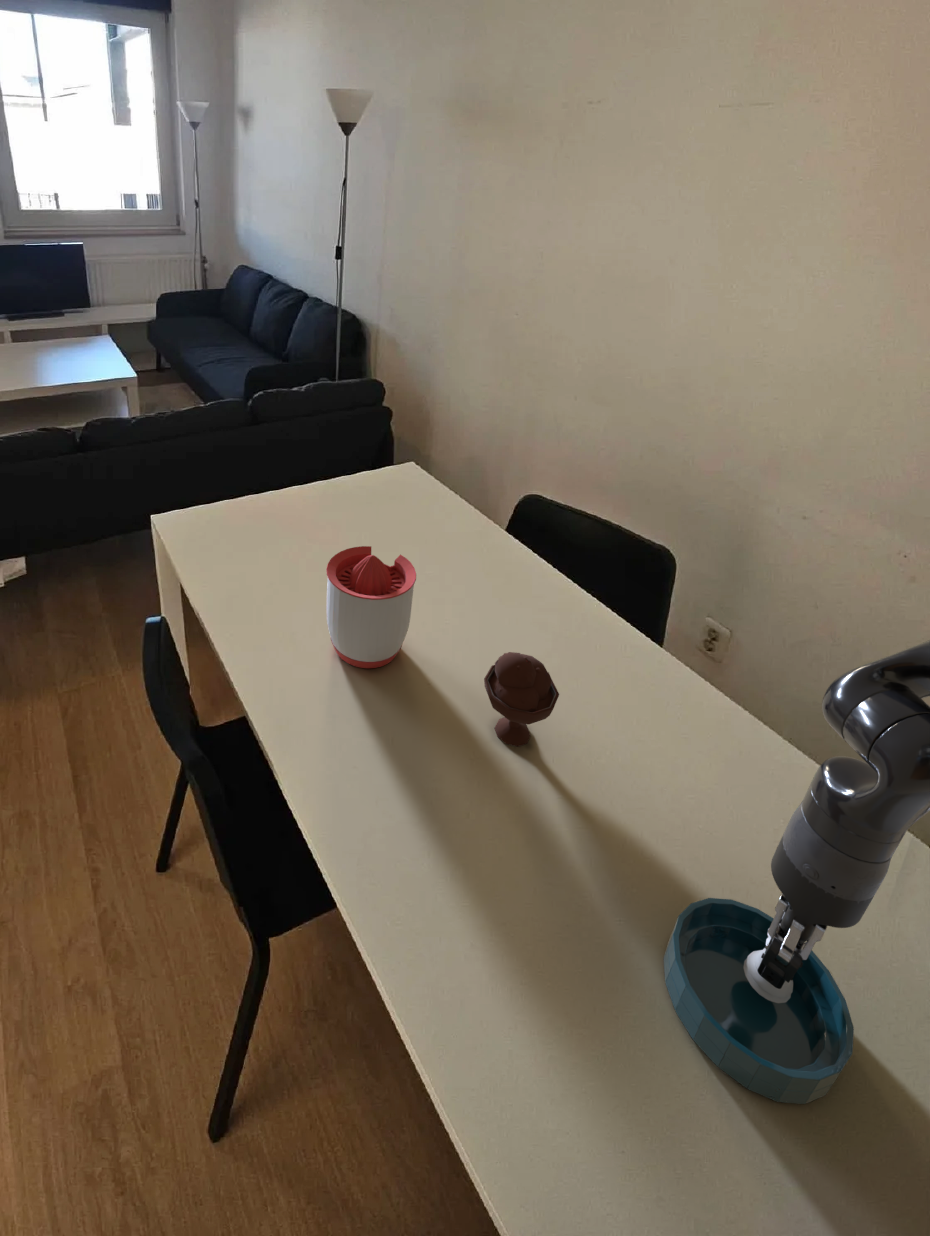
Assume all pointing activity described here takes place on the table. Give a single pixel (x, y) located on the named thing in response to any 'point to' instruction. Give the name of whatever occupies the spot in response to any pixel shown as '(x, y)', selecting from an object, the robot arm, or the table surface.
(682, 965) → the shallow round dish
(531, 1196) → the table surface
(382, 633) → the citrus juicer
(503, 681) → the ice cream bowl
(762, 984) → the rook chess piece
